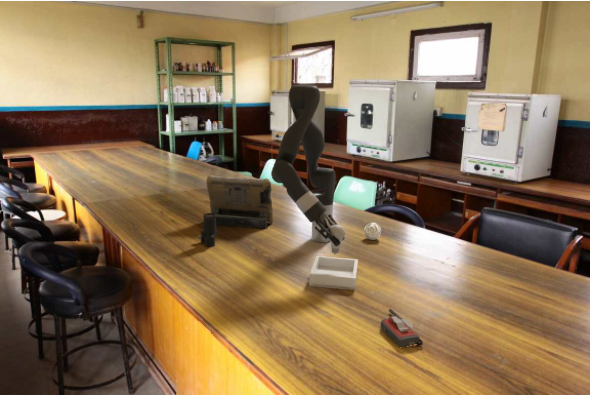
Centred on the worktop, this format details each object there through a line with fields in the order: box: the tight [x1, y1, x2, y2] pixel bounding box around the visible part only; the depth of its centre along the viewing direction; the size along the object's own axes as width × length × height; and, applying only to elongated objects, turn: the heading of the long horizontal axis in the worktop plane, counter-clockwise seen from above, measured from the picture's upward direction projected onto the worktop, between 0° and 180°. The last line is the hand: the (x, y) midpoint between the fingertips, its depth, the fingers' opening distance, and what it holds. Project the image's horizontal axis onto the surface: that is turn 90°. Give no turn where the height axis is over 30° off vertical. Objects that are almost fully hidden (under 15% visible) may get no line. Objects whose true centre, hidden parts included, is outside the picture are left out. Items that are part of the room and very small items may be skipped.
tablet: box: [206, 174, 274, 229], centre depth 226 cm, size 33×14×25 cm, turn 85°
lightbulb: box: [329, 224, 346, 255], centre depth 163 cm, size 6×6×11 cm
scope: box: [197, 212, 218, 248], centre depth 197 cm, size 8×14×10 cm
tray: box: [308, 255, 359, 291], centre depth 166 cm, size 18×16×4 cm
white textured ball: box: [363, 222, 382, 241], centre depth 210 cm, size 8×8×8 cm
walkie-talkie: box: [380, 308, 424, 348], centre depth 132 cm, size 9×4×20 cm
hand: (340, 242), depth 163 cm, fingers closed on lightbulb, 5 cm apart
